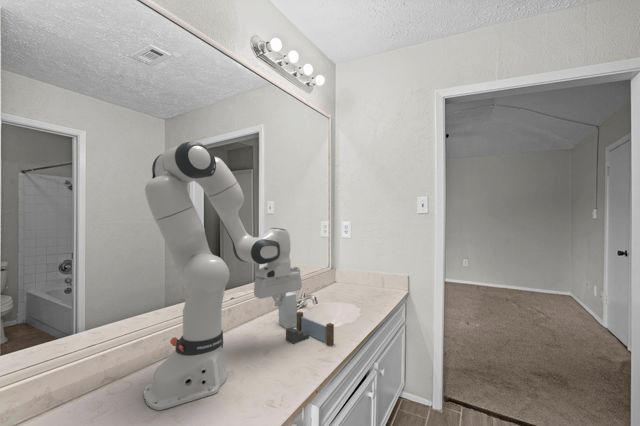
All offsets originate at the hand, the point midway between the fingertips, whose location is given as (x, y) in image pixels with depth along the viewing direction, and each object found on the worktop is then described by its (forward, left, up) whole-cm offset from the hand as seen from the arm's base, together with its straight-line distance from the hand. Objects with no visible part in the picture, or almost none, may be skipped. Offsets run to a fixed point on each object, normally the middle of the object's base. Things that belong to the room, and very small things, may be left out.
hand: (279, 305), depth 115 cm
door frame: (+15, -4, -16) cm, 22 cm away
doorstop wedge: (+9, 0, -16) cm, 18 cm away
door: (+15, -3, -15) cm, 22 cm away
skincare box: (+15, +15, -16) cm, 26 cm away
